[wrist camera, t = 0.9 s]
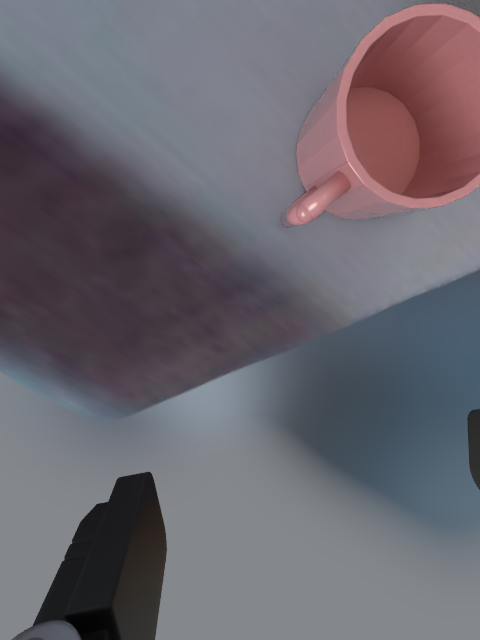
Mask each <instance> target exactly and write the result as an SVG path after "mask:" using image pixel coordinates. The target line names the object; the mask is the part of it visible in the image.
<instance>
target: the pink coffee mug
mask: <svg viewBox="0 0 480 640" xmlns="http://www.w3.org/2000/svg"><path fill="white" fill-rule="evenodd" d="M296 159H297V168H298V172H299V176H300V179H301V182H302V184H303V186H304V188H305V190H306V191H307V192H305V193H304V194H303V195H302V196H301V197H300V198H299V199H297V200H296V201H295V202H294V203H293V204H292V205H290V206H289V207H288V208H287V209H286V210H285V211H284V212H283V213H282V214H281V215H280V223H281V224H282V225H283V226H284V227H287V228H289V227H293V226H297V225H301V224H305V223H309V222H311V221H313V220H314V219H315V218H316V217H318V216H319V215H320V214H321V213H322V212H323V211H327V212H328V213H330V214H332V215H334V216H337V217H340V218H343V219H349V220H363V219H373V218H379V217H385V216H390V215H396V214H402V213H407V212H413V211H419V210H424V209H430V208H436V207H441V206H444V205H446V204H449V203H451V202H453V201H456V200H458V199H460V198H463V197H465V196H467V195H468V194H470V193H471V192H472V191H473V190H474V189H476V188H477V187H478V186H479V185H480V18H479V17H478V16H476V15H475V14H473V13H472V12H469V11H466V10H463V9H460V8H457V7H455V6H452V5H449V4H421V5H413V6H411V7H409V8H406V9H404V10H402V11H399V12H397V13H395V14H392V15H390V16H387V18H385V19H383V20H382V21H381V22H380V23H379V24H378V25H377V26H376V27H374V28H373V29H372V30H371V31H370V32H369V33H368V34H367V35H366V36H364V37H363V38H362V39H361V41H360V42H359V44H358V45H357V46H356V48H355V49H354V50H353V52H352V53H351V55H350V56H349V57H348V59H347V60H346V61H345V63H344V64H343V66H342V67H341V68H340V70H339V71H338V72H337V74H336V75H335V76H334V78H333V79H332V81H331V82H330V83H329V85H328V86H327V87H326V89H325V90H324V92H323V93H322V94H321V96H320V97H319V98H318V100H317V101H316V103H315V104H314V106H313V107H312V109H311V111H310V112H309V113H308V115H307V117H306V119H305V120H304V122H303V125H302V127H301V130H300V133H299V137H298V141H297V149H296Z"/></svg>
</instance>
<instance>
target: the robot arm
mask: <svg viewBox="0 0 480 640" xmlns="http://www.w3.org/2000/svg"><path fill="white" fill-rule="evenodd" d="M468 441H469V462H470V463H469V464H470V471H471V474H472V477H473V479H474V482H475V483H476V485H477V487H478V488H479V489H480V409H477V410H472V411H471V412H470V413H469V415H468ZM166 546H167V545H166V533H165V527H164V522H163V518H162V513H161V509H160V505H159V500H158V496H157V492H156V487H155V483H154V479H153V476H152V474H151V473H150V472H145V473H140V474H134V475H129V476H124V477H119V478H118V479H117V481H116V484H115V486H114V489H113V491H112V494H111V496H110V499H109V501H108V502H105V503H100V504H97V505H96V506H95V507H94V508H93V509H92V510H91V511H90V512H89V513H88V514H87V515H86V516H85V518H84V519H83V520H82V521H81V522H80V524H79V527H78V529H77V531H76V533H75V535H74V537H73V539H72V544H71V545H70V546H69V548H68V550H67V553H66V555H65V560H64V561H63V562H62V563H61V566H60V568H59V570H58V572H57V574H56V577H55V578H54V581H53V583H52V585H51V587H50V589H49V592H48V594H47V596H46V598H45V600H44V602H43V604H42V607H41V609H40V611H39V613H38V615H37V617H36V620H35V622H34V624H33V626H32V627H30V628H29V629H27V630H25V631H24V632H22V633H20V634H18V635H17V636H16V637H14V638H13V639H12V640H155V635H156V627H157V620H158V613H159V606H160V598H161V591H162V583H163V576H164V569H165V562H166V552H167V547H166Z"/></svg>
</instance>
